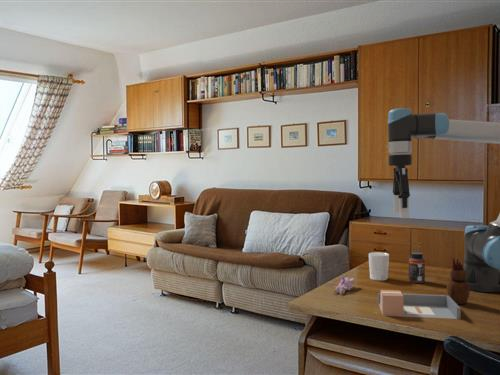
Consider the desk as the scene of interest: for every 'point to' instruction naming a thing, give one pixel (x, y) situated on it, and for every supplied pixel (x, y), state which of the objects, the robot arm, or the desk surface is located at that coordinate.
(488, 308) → the desk surface
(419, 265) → the supplement bottle
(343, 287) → the rabbit figure
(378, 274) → the white cup
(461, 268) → the wooden figurine
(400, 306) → the cube
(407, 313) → the tray
